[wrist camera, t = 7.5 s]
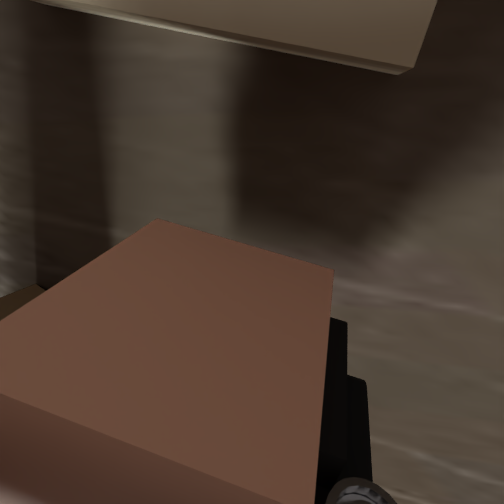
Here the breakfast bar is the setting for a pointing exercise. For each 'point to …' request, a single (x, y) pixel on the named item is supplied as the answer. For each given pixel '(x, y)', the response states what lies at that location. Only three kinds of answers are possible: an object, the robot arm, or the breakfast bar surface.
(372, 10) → the birch block
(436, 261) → the breakfast bar surface
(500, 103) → the breakfast bar surface
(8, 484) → the terracotta block
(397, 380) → the breakfast bar surface
